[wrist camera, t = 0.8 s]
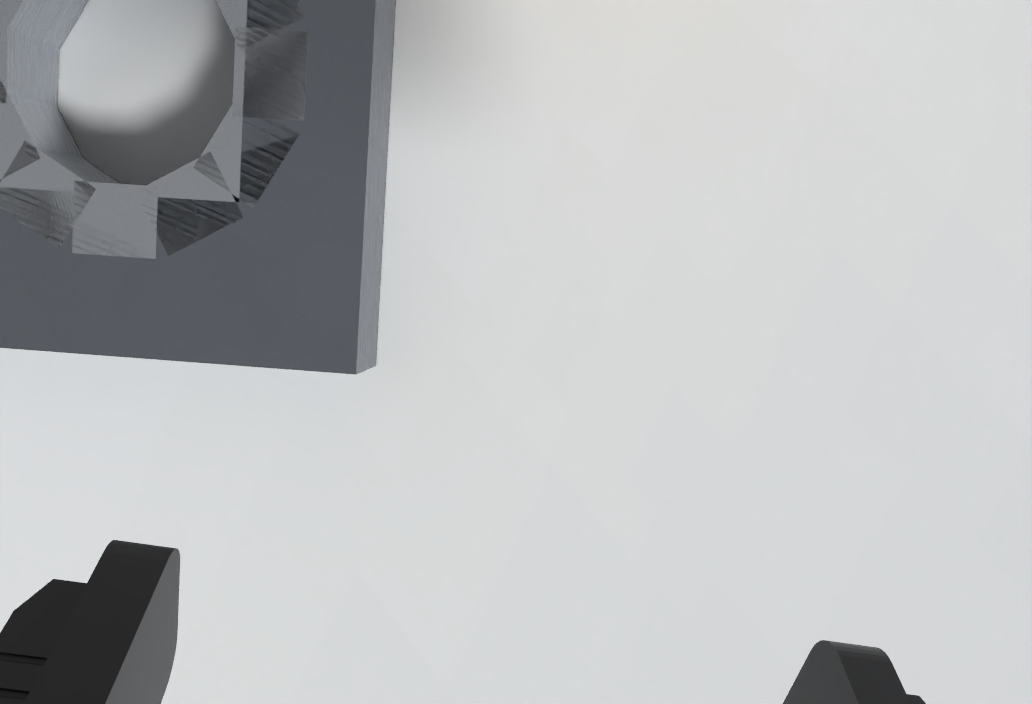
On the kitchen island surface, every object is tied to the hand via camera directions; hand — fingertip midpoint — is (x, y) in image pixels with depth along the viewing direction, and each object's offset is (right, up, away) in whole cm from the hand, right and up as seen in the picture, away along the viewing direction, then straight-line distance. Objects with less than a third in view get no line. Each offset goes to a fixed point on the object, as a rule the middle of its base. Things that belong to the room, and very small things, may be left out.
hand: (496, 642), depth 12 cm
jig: (-10, +12, +16) cm, 22 cm away
